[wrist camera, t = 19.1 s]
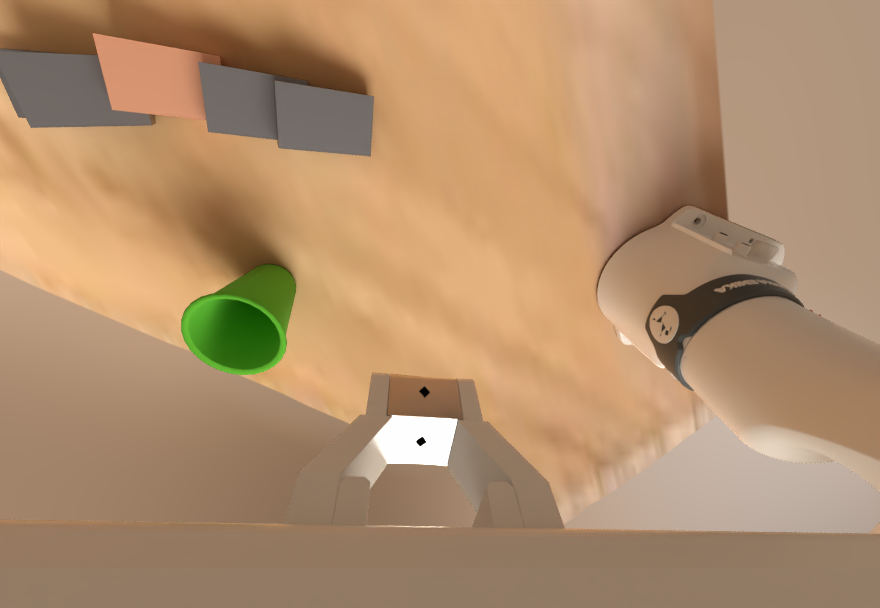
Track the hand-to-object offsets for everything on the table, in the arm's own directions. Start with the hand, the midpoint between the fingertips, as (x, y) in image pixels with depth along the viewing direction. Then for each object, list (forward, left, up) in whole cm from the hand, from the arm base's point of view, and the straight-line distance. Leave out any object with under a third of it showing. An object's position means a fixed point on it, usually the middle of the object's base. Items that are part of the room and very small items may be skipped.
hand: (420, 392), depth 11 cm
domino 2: (+17, -5, -30) cm, 35 cm away
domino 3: (+10, -5, -30) cm, 32 cm away
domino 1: (+24, -4, -30) cm, 39 cm away
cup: (+15, +14, -31) cm, 37 cm away
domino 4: (+5, -4, -30) cm, 31 cm away
